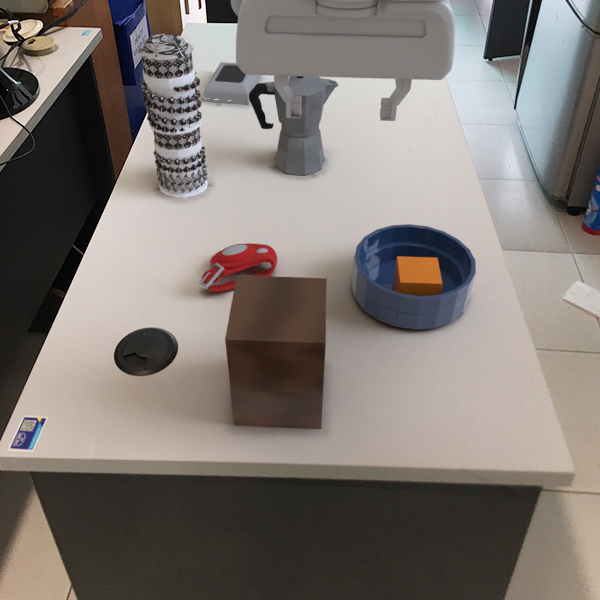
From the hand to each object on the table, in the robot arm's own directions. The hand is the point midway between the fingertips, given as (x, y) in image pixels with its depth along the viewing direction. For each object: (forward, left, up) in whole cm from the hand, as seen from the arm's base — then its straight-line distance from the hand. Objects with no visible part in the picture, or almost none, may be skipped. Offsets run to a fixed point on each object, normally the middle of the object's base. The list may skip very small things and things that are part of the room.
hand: (340, 117), depth 63 cm
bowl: (-6, -12, -30) cm, 33 cm away
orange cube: (-8, -10, -29) cm, 32 cm away
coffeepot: (+26, -35, -30) cm, 53 cm away
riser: (0, +12, -30) cm, 33 cm away
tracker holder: (+18, -3, -30) cm, 35 cm away
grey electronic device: (+54, -57, -30) cm, 84 cm away
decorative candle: (+39, -19, -30) cm, 53 cm away
